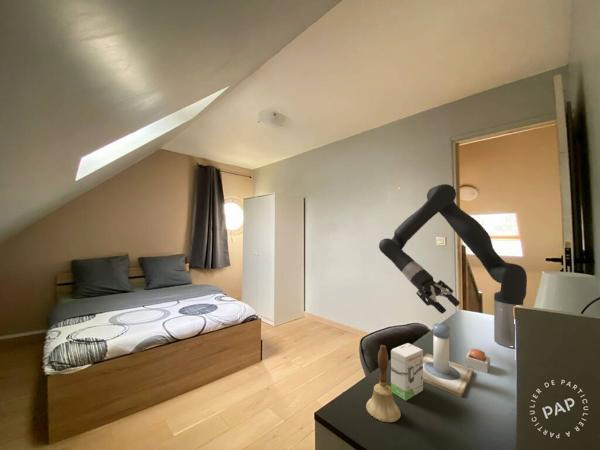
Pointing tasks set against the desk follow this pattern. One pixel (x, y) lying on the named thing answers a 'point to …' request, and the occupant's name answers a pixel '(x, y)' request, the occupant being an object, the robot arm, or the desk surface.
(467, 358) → the button housing
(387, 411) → the hand bell
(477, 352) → the button
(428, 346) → the desk surface
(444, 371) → the white bottle
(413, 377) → the ink box
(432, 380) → the beige flat board
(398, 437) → the desk surface
